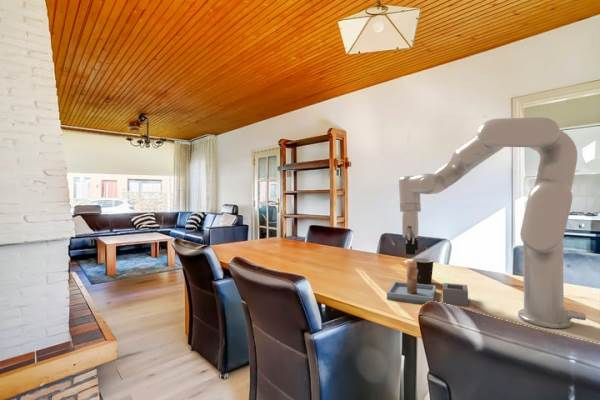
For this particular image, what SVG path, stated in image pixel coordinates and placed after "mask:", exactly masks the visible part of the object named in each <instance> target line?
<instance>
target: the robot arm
mask: <svg viewBox="0 0 600 400" xmlns="http://www.w3.org/2000/svg"><path fill="white" fill-rule="evenodd" d="M504 148H530V149H531V150H534V151H536V152H537V153H538V155H539V163H538V168H537V174H536V178H535V182H534V186H533V187H532V188H531V189H530V191H529V192H528V193H529V194H528V197H527V200H526V201H527V202H526V205H525V210H524V214H523V218H522V224H521V227H520V232H519V235H520V239H521V241H522V244H523V245H522V246H523V247H522V248H523V250H522V251H523V254H522V255H523V256H522V258H523V261H522V262H523V270H522V271H523V274H522V275H523V309H520V310H518V311H517V315H518V316H517V317H519V318H520V319H521V320H523V321H525V322H527V323H530V324H531V325H535V326H538V327H545V328H551V329H566V328H569V327H571V326H572V319H574V320H575V319H576V320H581V321H586V319H587V316H586V313H584V312H578V311H577V310H573V309H572V310H571V309H567V308H566V307H565V306H564V305H565V301H564V299H565V298H564V295H565V292H564V291H565V290H564V236H565V234H566V229H567V226H568V225H567V224H568V221H569V216H570V213H571V212H570V211H571V208H572V204H573V192H572V189H573V183H574V179H575V174H576V168H577V164H578V150H577V146H576V143H575V142H574V140H573V139H572V138H571V137H570V135H568V134H567V133H566V132H565V131H563V130H561V129H560V127H559V124H558V123H557V122H556V121H555V120H554V119H551V118H549V117H544V116H543V117H542V116H537V117H536V116H535V117H508V118H507V117H505V118H504V117H503V118H493V119H489V120H487V121H485V122H483V123H482V124H481V125H480V127H479V128H478V130H477V134H475V136H473V137H472V138H470V139H469V140H467V141H466V142H465V143H463V144H462V145H461V146H459V147H458V148H456V150H454V152H453V153H452V156H451V158H450V159H449V161H448V162H447V163H446V164H445V165H443V166H442V167H441V168H439V169H438V170H437V171H435V172H434V173H423V174H418V175H406V176H401V177H400V178H399V179H398V191H399V192H398V193H399V194H398V195H399V211H400V212H399V213H402V221H401V222H402V223H401V225H402V227H401V228H402V230H401V231H402V238H403V239H405V254H406V255H411V256H413V255H414V256H415V255H416V251H418V250H419V240H418V236H419V213H421V212H422V208H421V206H422V205H421V194H422V195H435V194H439V193H442V192H443V191H445V190H446V189H448V188H449V187H451V186H452V185H454V184H455V183H457V182H458V181H459V180H460V179H462V178H463V177H464V176H466V175H467V174H468V173H470V172H471V171H472V170H473V169H474V168H476V167H478V166H479V165H481V163H483V162H484V161H486V160H488V159H489V158H491V157H492V156H493V155H495V154H497V153H498V152H500V151H501V150H502V149H504ZM418 212H419V213H418Z"/></svg>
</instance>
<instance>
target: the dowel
mask: <svg viewBox="0 0 600 400" xmlns="http://www.w3.org/2000/svg"><path fill="white" fill-rule="evenodd" d="M406 283H407V293H408V294H417V262H415V261H413V260H408V261H406Z"/></svg>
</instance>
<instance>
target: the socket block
mask: <svg viewBox="0 0 600 400" xmlns="http://www.w3.org/2000/svg"><path fill="white" fill-rule="evenodd" d="M468 290H469V289H468V285H467V284H462V283H461V284H459V283H452V282H451V283H448V282H443V283H442V303H443V302H444V304H451V303H452V304H454V305H459V304H460V306H469V291H468Z"/></svg>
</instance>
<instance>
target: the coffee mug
mask: <svg viewBox="0 0 600 400" xmlns="http://www.w3.org/2000/svg"><path fill="white" fill-rule="evenodd" d="M412 261H415V262H417V284H425V285H431V284H432V278H433V270H434V259H431V258H425V257H424V258H421V257H417V258H413V259H412Z"/></svg>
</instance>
